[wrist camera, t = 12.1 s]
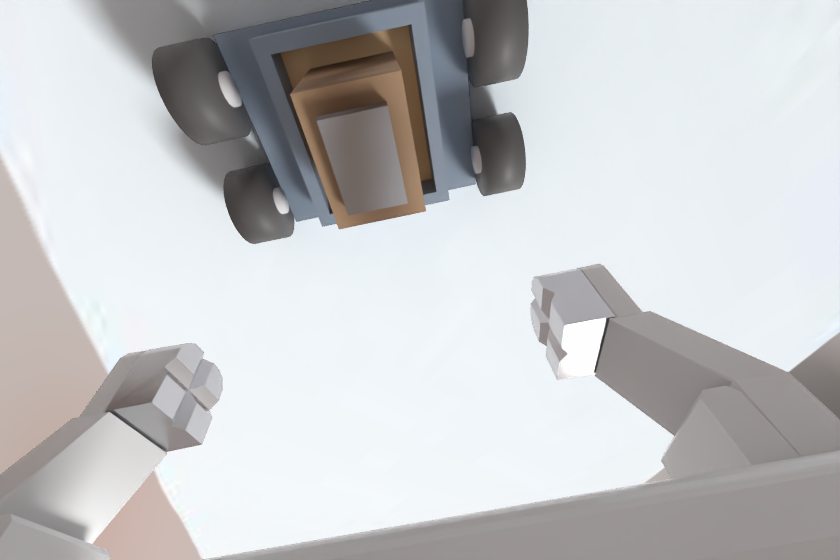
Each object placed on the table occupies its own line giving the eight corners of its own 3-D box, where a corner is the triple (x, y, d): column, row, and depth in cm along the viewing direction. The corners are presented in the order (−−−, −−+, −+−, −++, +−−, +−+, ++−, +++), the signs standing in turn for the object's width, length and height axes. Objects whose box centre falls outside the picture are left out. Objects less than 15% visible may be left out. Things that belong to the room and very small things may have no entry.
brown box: (392, 50, 21) (402, 73, 15) (413, 165, 25) (427, 218, 19) (309, 68, 21) (286, 98, 15) (344, 179, 26) (337, 236, 19)
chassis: (503, -29, 20) (536, -34, 16) (506, 171, 28) (529, 200, 24) (173, 43, 21) (129, 54, 17) (265, 222, 28) (248, 258, 24)
